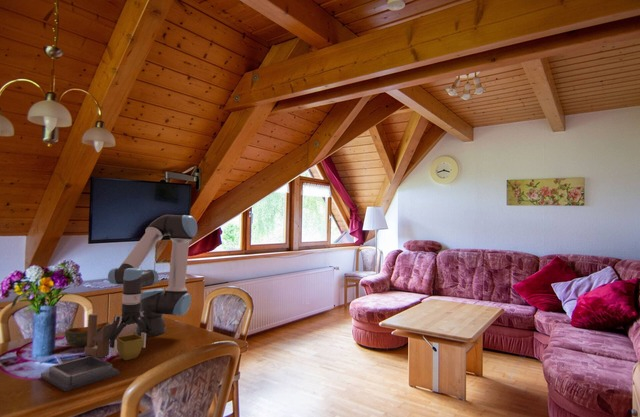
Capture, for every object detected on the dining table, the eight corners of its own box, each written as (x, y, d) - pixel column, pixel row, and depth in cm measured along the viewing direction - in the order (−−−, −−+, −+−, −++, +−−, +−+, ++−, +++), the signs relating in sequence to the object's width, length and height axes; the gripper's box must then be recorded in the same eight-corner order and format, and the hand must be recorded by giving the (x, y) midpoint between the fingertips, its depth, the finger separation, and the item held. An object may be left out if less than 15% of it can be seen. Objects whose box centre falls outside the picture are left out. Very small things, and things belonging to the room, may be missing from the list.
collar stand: (94, 362, 167) (94, 353, 167) (119, 374, 156) (120, 364, 156) (40, 377, 151) (41, 367, 151) (64, 391, 140) (65, 380, 140)
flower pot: (142, 358, 174) (143, 338, 174) (122, 363, 168) (123, 342, 168) (134, 353, 180) (135, 333, 180) (114, 357, 174) (115, 337, 174)
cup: (101, 350, 181) (102, 328, 182) (61, 348, 183) (62, 326, 184) (118, 342, 194) (118, 321, 195) (80, 340, 196) (81, 320, 196)
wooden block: (102, 358, 172) (104, 317, 173) (84, 354, 176) (86, 314, 176) (109, 355, 176) (111, 315, 176) (91, 352, 179) (93, 313, 180)
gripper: (107, 308, 162) (104, 360, 161) (161, 300, 183) (158, 345, 182) (98, 306, 166) (95, 356, 165) (151, 298, 187) (149, 342, 186)
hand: (128, 350), depth 174 cm, fingers open, 13 cm apart
